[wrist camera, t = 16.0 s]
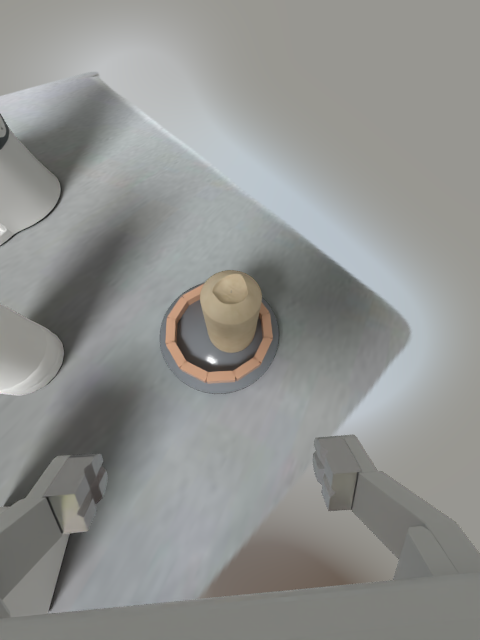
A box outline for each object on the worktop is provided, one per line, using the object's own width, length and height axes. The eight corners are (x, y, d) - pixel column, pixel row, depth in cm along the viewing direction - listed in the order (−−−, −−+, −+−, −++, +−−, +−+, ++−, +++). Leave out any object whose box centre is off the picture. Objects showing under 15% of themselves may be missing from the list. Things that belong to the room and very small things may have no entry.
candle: (226, 302, 33) (224, 250, 24) (263, 326, 32) (276, 281, 22) (198, 336, 31) (184, 294, 22) (237, 362, 30) (238, 330, 20)
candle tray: (158, 397, 29) (152, 394, 27) (165, 288, 35) (160, 278, 33) (284, 390, 30) (288, 386, 28) (270, 283, 35) (273, 273, 33)
